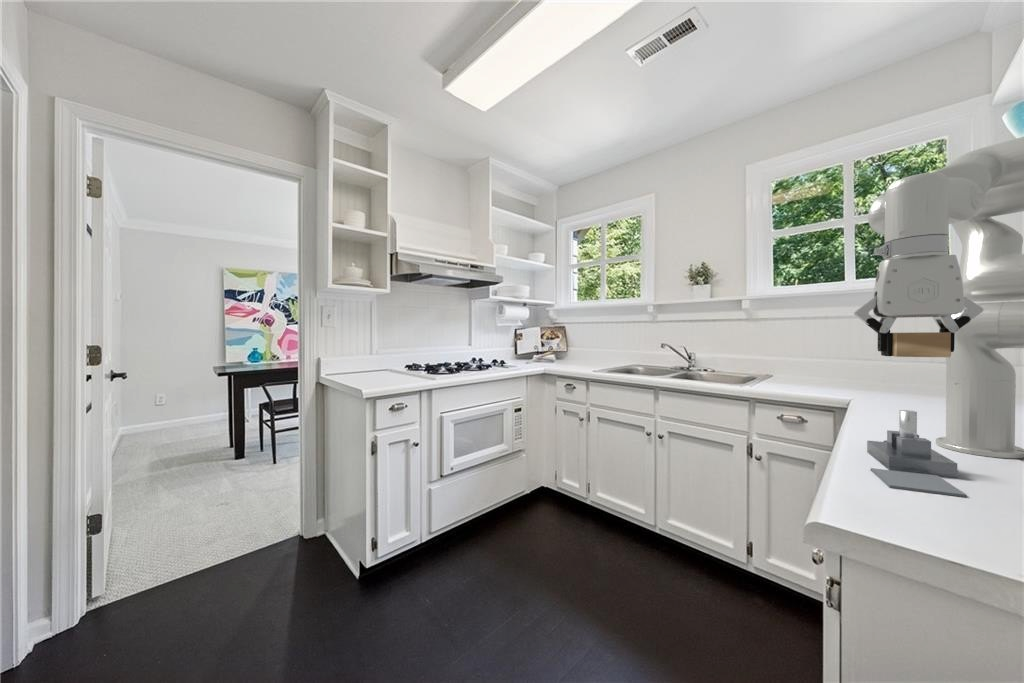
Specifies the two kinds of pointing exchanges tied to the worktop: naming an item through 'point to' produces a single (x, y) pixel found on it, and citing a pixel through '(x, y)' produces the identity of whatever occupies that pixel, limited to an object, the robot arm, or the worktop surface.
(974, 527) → the worktop surface
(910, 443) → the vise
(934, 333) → the collar
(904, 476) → the mat
